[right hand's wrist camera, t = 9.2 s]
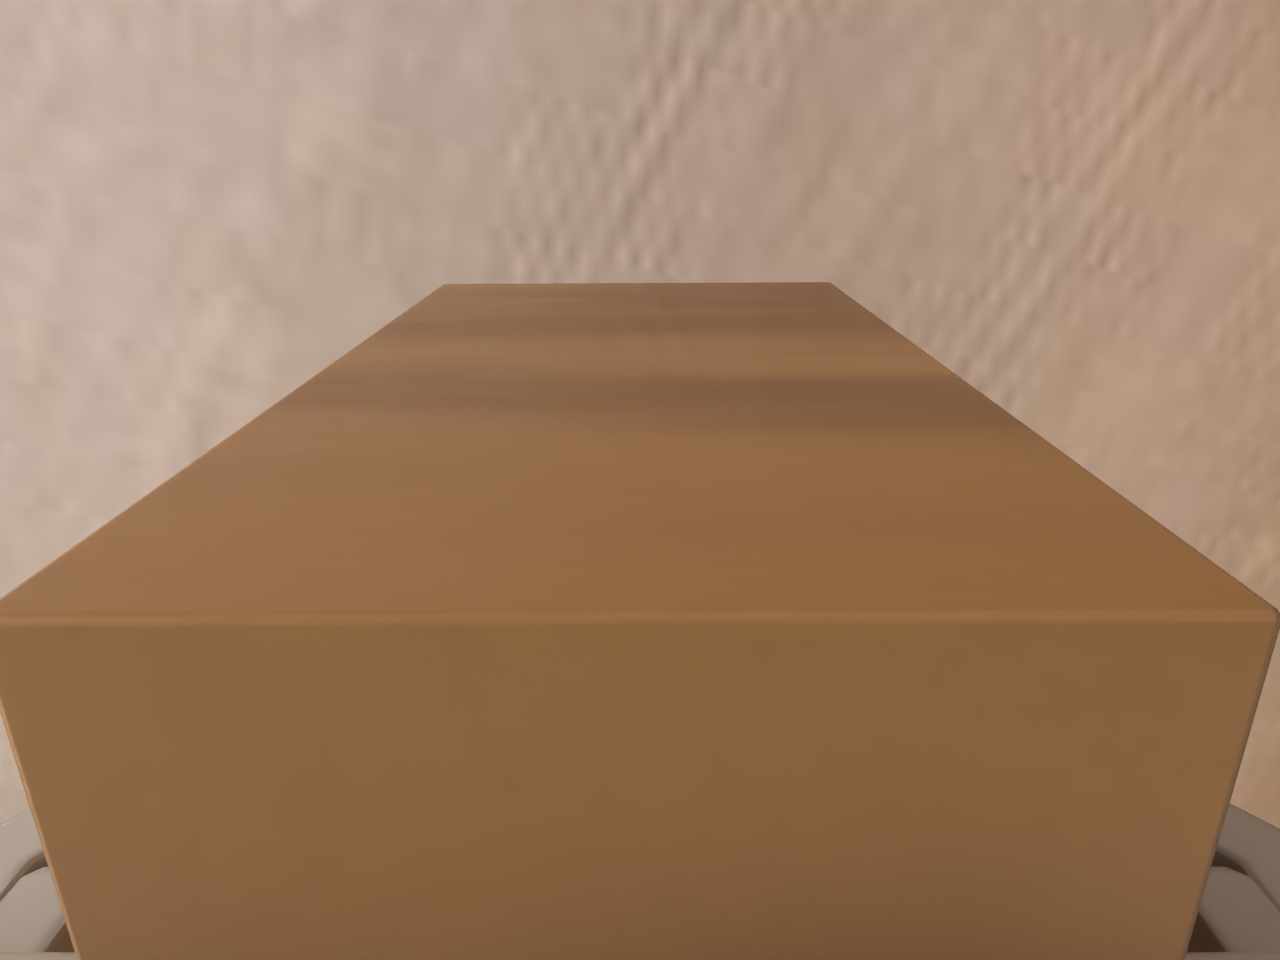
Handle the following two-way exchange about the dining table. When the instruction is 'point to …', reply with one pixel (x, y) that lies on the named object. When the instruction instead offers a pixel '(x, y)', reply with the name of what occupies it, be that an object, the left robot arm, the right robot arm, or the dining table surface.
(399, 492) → the bar
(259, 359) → the dining table surface
